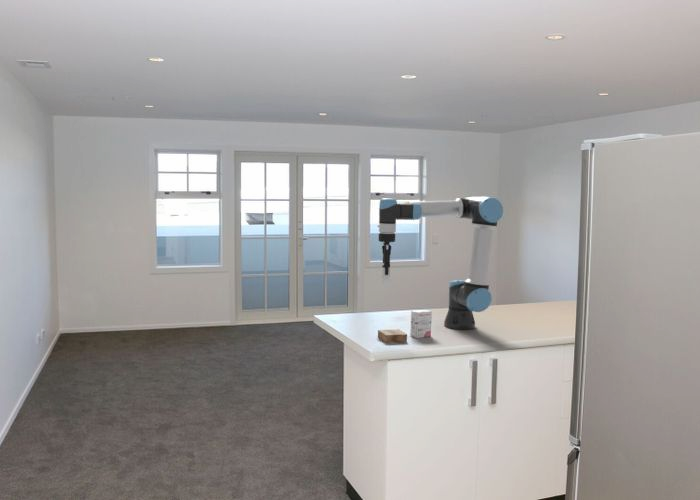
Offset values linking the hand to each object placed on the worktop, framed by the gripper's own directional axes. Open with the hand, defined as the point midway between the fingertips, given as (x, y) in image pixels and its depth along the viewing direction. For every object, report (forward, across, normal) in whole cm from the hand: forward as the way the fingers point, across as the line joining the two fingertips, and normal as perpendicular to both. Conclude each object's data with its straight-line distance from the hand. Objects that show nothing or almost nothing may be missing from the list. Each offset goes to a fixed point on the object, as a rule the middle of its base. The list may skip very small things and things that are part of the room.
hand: (385, 279), depth 305 cm
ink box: (+26, -2, +17) cm, 31 cm away
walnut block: (+26, +8, +3) cm, 27 cm away
